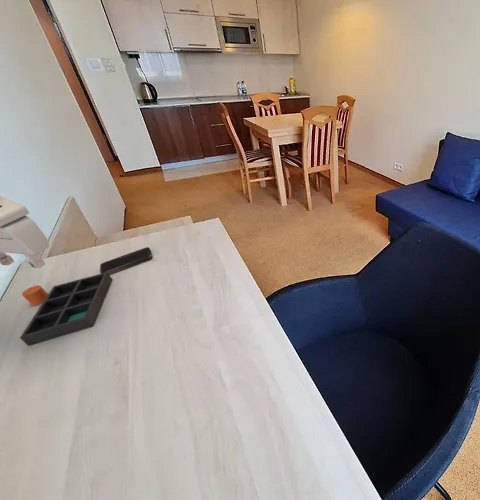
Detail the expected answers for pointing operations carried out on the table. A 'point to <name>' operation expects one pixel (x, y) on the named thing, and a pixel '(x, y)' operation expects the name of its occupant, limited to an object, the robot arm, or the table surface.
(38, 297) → the orange cylinder
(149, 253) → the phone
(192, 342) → the table surface
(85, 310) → the grid
